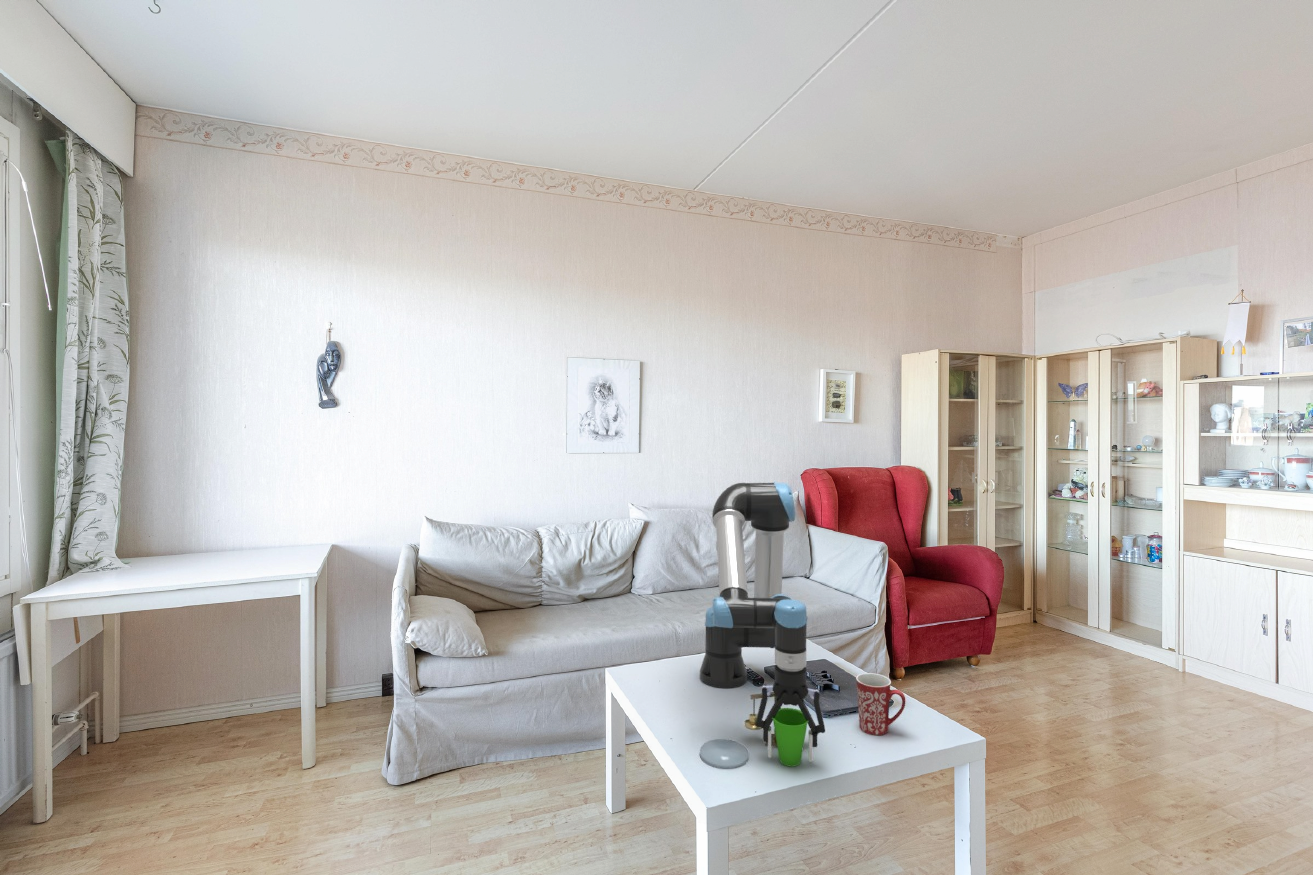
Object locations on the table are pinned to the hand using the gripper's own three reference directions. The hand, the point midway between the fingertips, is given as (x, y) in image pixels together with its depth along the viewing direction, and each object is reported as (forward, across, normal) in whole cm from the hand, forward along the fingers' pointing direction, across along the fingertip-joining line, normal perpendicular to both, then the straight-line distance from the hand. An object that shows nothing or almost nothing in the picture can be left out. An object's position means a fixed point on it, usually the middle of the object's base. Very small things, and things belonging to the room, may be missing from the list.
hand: (789, 756), depth 152 cm
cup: (+1, 0, 0) cm, 1 cm away
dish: (+1, -16, 0) cm, 16 cm away
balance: (+1, -3, +9) cm, 9 cm away
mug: (+1, +24, +20) cm, 31 cm away
